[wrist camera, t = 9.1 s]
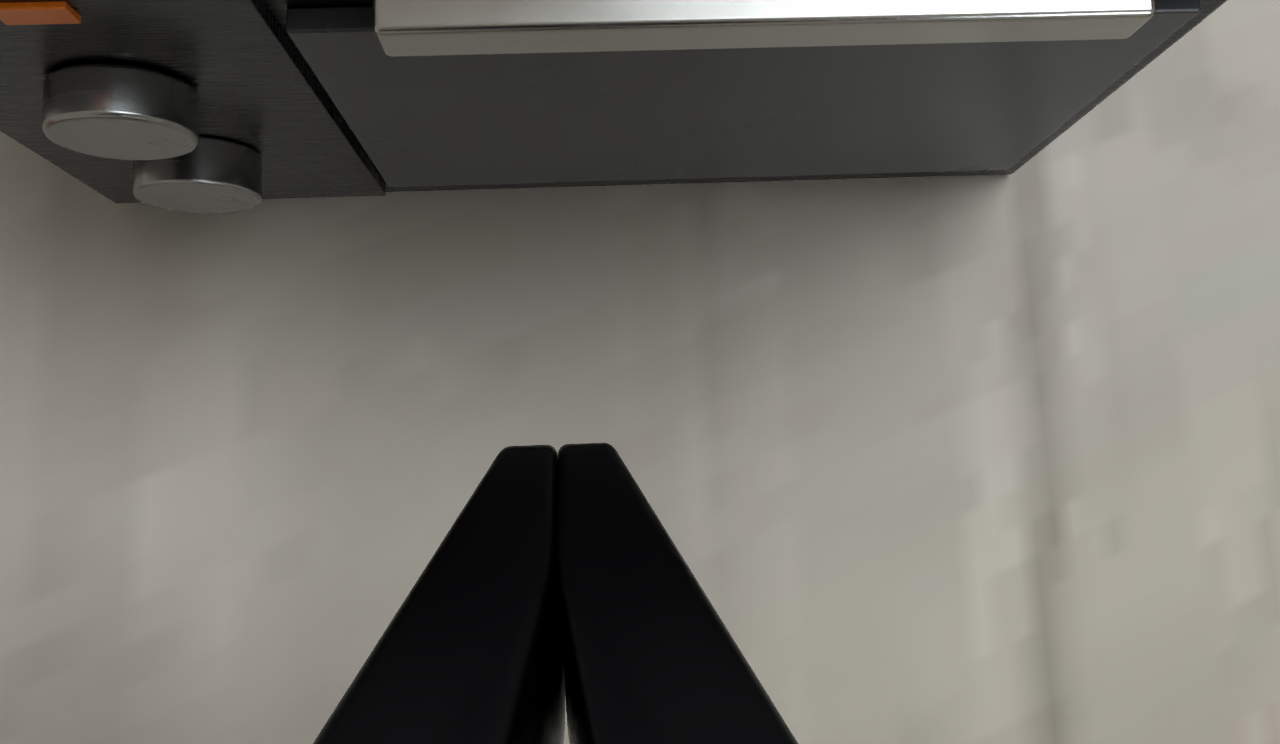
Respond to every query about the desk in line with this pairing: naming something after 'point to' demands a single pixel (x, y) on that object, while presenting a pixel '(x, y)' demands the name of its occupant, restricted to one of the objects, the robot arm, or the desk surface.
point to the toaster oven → (552, 90)
